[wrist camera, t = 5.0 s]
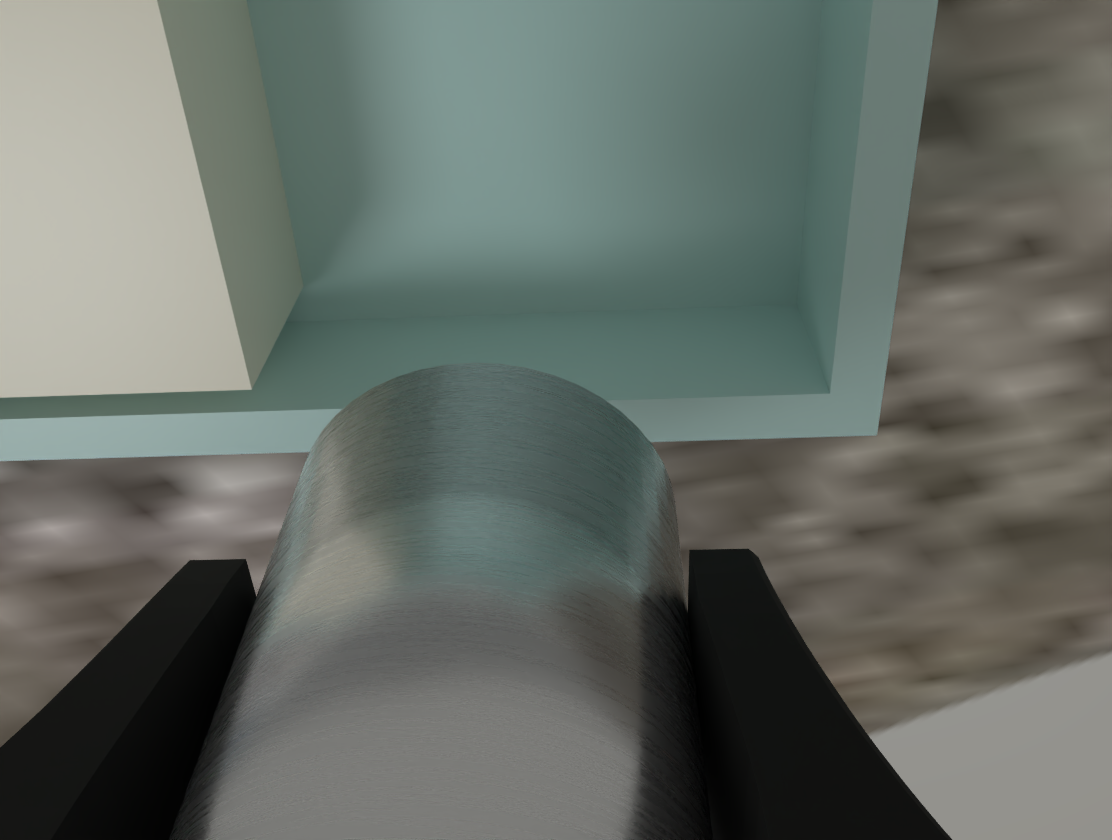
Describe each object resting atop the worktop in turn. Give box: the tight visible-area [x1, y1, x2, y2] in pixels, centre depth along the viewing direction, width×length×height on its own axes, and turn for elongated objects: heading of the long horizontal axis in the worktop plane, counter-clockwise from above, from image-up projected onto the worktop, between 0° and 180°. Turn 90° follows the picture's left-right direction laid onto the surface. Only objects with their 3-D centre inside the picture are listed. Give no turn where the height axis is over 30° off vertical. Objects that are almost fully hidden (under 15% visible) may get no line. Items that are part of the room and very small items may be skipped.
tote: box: [0, 0, 938, 461], centre depth 16 cm, size 16×11×4 cm
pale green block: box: [0, 0, 303, 398], centre depth 15 cm, size 5×8×4 cm, turn 3°
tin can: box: [169, 363, 713, 840], centre depth 10 cm, size 5×5×7 cm
